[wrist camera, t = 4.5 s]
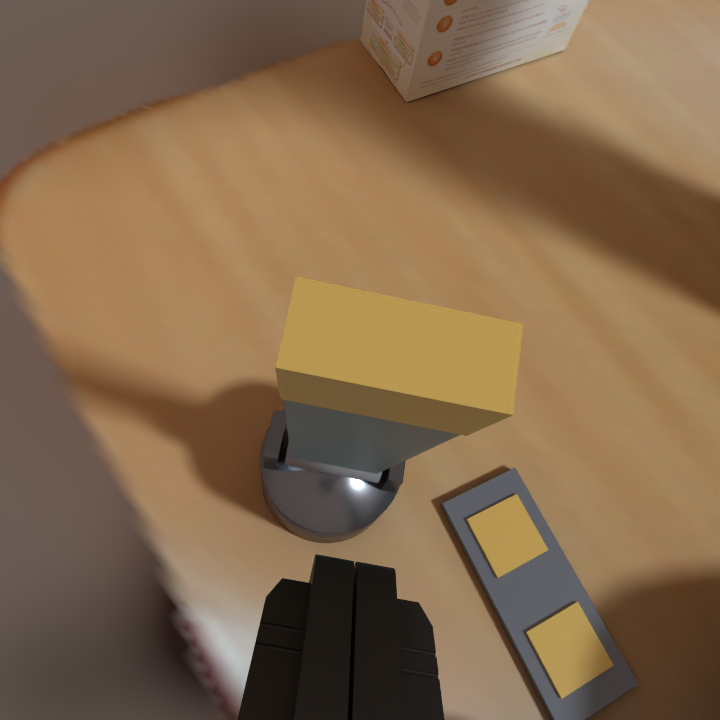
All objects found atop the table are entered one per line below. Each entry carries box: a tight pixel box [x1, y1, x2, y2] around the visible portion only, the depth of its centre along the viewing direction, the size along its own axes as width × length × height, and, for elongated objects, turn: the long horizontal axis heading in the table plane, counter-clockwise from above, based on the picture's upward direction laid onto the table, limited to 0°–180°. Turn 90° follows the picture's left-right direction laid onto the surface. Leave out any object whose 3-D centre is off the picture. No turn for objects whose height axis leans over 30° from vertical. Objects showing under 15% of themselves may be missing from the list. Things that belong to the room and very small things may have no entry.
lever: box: [276, 277, 523, 483], centre depth 18 cm, size 2×4×18 cm, turn 81°
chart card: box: [441, 468, 638, 720], centre depth 28 cm, size 11×4×1 cm, turn 26°
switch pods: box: [260, 409, 405, 543], centre depth 24 cm, size 24×6×6 cm, turn 30°
